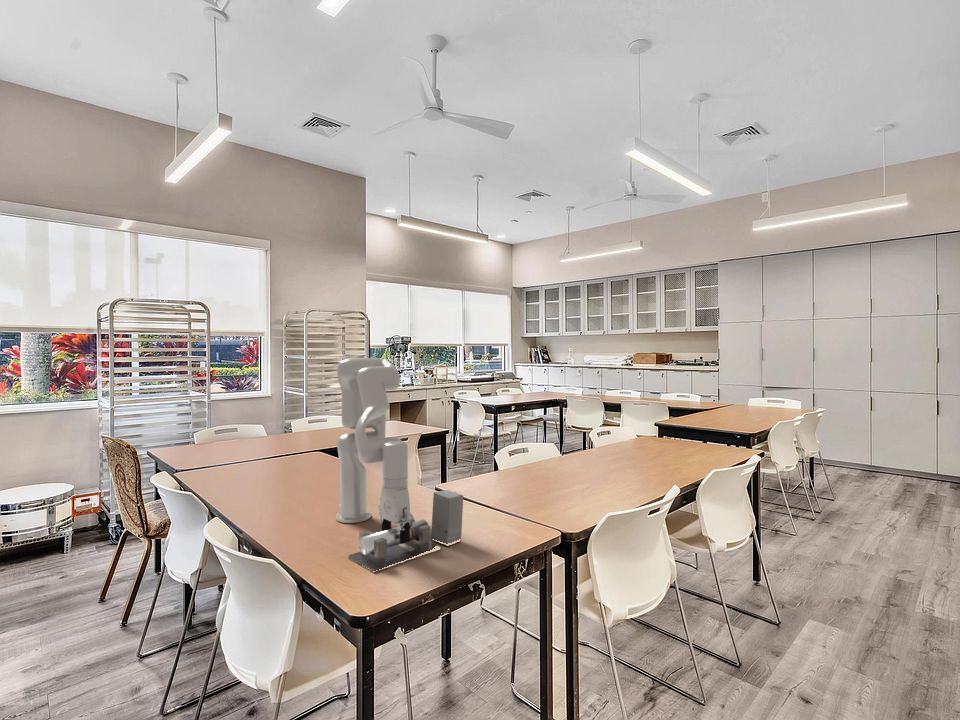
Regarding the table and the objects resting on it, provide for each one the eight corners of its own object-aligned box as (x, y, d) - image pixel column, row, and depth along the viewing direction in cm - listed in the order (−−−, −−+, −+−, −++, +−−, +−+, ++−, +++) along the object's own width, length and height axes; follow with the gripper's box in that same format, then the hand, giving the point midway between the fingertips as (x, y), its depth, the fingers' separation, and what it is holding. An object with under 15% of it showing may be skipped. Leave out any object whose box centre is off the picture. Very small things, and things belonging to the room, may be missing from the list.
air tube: (368, 557, 146) (368, 540, 145) (358, 551, 149) (359, 534, 149) (429, 537, 161) (429, 522, 161) (419, 532, 165) (419, 517, 164)
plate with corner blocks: (348, 558, 152) (348, 533, 152) (413, 537, 168) (413, 515, 168) (374, 573, 142) (373, 546, 142) (440, 549, 158) (440, 525, 158)
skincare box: (430, 540, 166) (430, 492, 166) (447, 535, 171) (446, 488, 171) (447, 548, 160) (447, 497, 160) (464, 542, 165) (464, 493, 165)
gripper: (369, 479, 158) (369, 533, 159) (401, 490, 146) (401, 549, 146) (389, 475, 164) (389, 528, 164) (422, 485, 151) (422, 542, 151)
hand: (395, 538), depth 155 cm, fingers open, 9 cm apart
